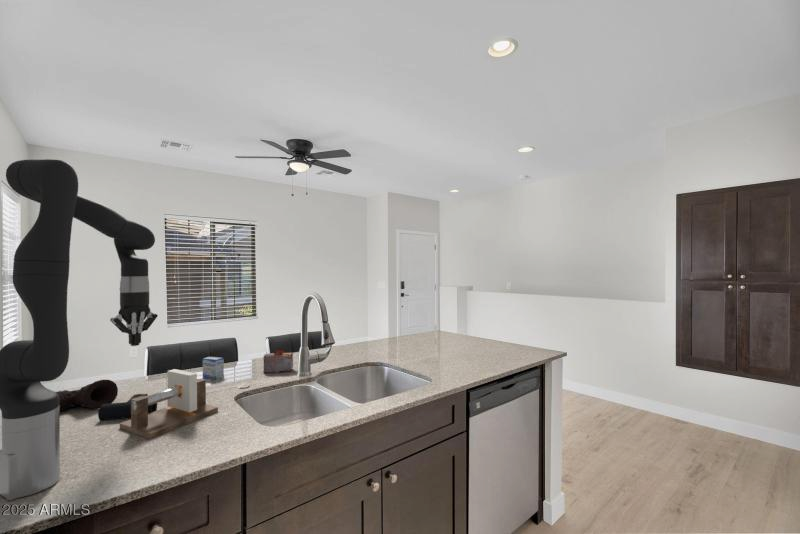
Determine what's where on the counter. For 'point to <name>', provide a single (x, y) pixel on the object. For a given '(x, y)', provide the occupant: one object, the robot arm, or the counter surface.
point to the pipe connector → (121, 409)
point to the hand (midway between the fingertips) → (135, 345)
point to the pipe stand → (165, 415)
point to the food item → (278, 361)
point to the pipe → (89, 395)
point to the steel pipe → (161, 396)
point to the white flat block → (183, 389)
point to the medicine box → (213, 367)
